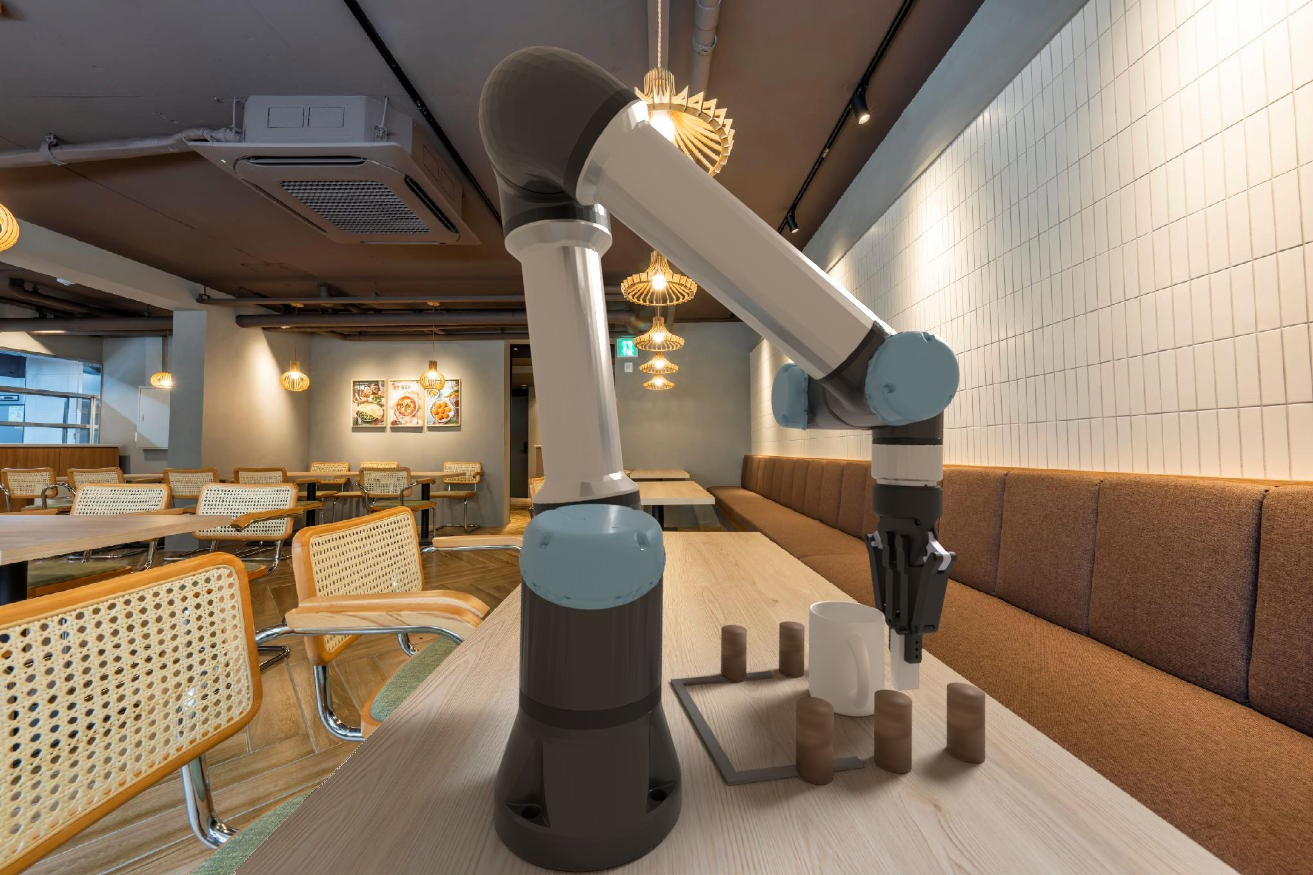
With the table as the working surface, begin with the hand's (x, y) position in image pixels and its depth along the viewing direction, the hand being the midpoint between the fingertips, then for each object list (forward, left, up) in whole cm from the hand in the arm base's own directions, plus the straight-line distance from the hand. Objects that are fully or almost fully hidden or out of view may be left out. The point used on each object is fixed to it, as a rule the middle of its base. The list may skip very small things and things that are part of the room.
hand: (904, 686), depth 60 cm
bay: (-18, 0, -2) cm, 18 cm away
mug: (-7, 0, -2) cm, 7 cm away
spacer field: (-9, 0, -2) cm, 9 cm away
